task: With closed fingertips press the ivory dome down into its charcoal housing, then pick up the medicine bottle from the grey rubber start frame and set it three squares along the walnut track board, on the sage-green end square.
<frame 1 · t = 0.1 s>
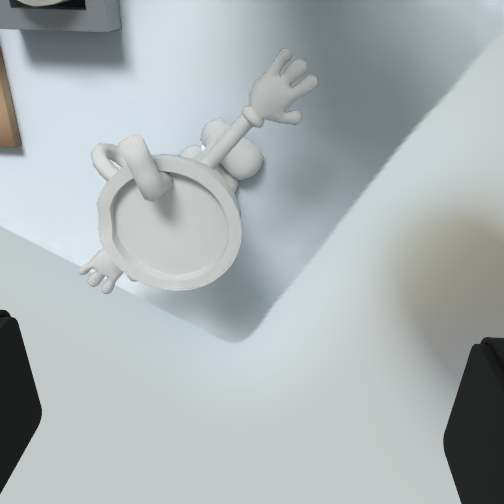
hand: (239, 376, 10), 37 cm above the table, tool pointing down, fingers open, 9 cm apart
cartoon character: (200, 140, 45), on the table
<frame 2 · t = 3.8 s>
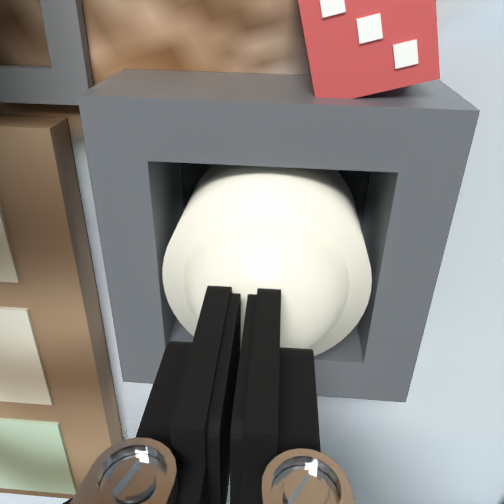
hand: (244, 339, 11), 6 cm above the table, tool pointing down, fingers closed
red die: (355, 18, 13), on the table
dome: (267, 267, 13), point 3 cm above the table, slide at 1.4 cm, touching gripper
dome housing: (272, 216, 16), on the table
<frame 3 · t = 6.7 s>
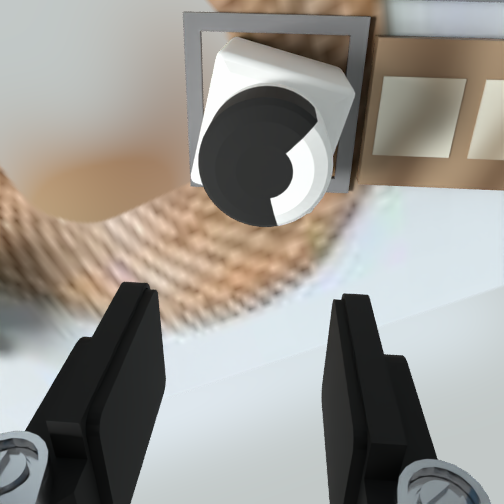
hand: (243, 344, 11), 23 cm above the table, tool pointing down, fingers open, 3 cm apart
start frame: (272, 108, 31), on the table
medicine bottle: (272, 107, 31), on the table
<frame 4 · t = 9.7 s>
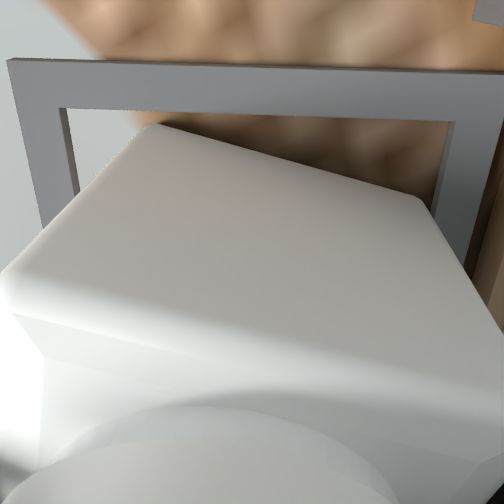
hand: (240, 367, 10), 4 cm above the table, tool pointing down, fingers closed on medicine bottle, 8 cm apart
start frame: (251, 273, 13), on the table
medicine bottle: (252, 270, 14), on the table, touching gripper
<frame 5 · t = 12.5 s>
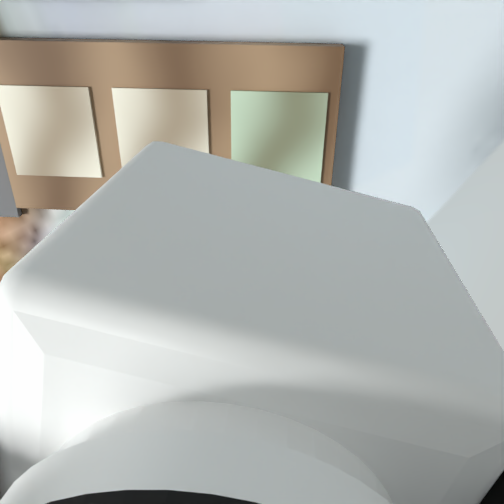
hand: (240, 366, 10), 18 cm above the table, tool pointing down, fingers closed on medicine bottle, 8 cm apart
track board: (168, 129, 26), on the table
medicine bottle: (255, 283, 14), point 14 cm above the table, touching gripper
when the fingers open (6 cm above the table, at t = 15.5 s): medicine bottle stays where it is, resting on track board.
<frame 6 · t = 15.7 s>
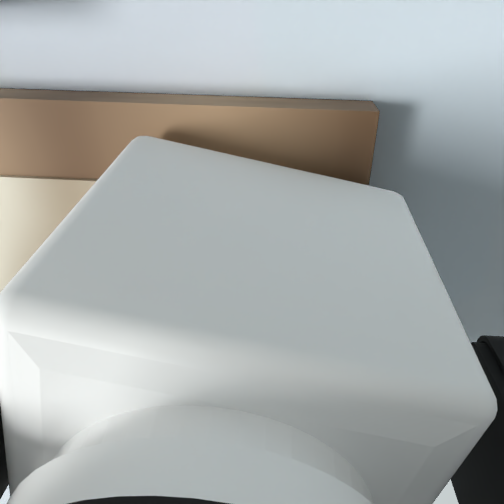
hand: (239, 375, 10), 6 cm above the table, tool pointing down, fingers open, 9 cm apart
track board: (71, 233, 16), on the table
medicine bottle: (245, 268, 14), point 1 cm above the table, touching track board
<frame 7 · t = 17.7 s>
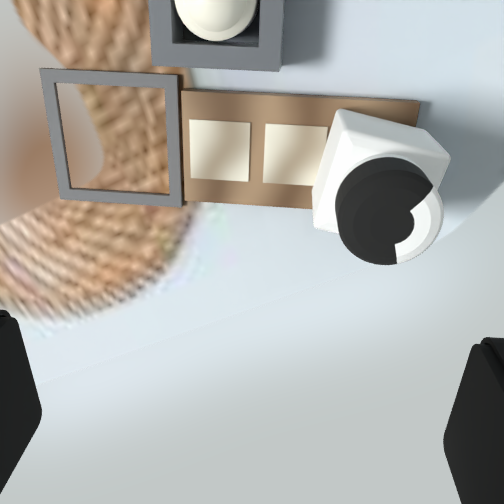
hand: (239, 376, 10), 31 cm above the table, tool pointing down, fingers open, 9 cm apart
track board: (294, 151, 39), on the table
start frame: (115, 140, 40), on the table
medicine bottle: (366, 162, 38), point 1 cm above the table, touching track board
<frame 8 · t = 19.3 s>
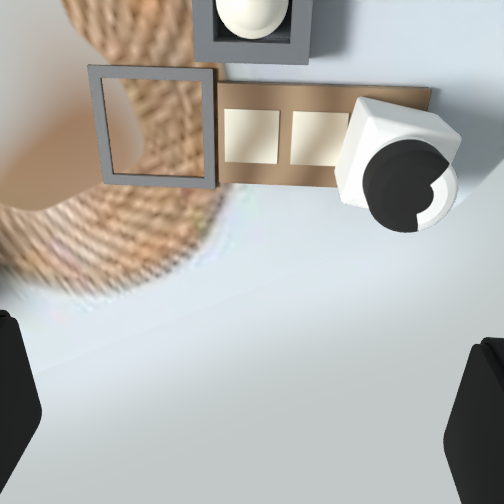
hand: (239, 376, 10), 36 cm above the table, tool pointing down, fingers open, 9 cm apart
track board: (317, 135, 44), on the table
start frame: (155, 129, 45), on the table
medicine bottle: (383, 143, 43), point 1 cm above the table, touching track board
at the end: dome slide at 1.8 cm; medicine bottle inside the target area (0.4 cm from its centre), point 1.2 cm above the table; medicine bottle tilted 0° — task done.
